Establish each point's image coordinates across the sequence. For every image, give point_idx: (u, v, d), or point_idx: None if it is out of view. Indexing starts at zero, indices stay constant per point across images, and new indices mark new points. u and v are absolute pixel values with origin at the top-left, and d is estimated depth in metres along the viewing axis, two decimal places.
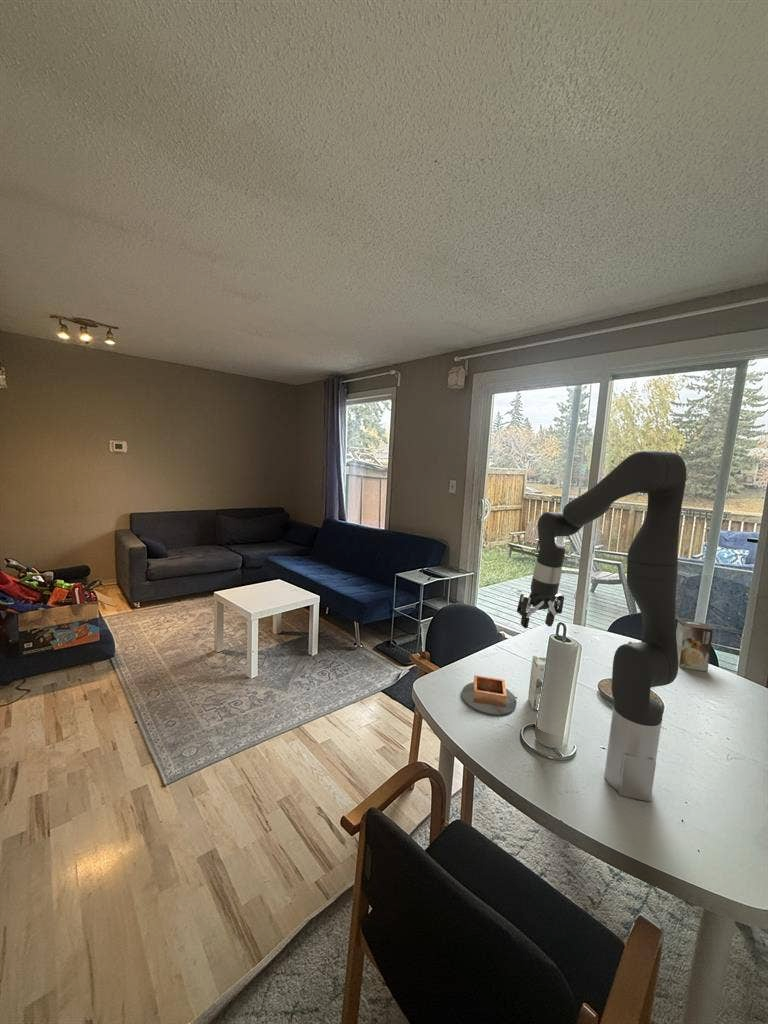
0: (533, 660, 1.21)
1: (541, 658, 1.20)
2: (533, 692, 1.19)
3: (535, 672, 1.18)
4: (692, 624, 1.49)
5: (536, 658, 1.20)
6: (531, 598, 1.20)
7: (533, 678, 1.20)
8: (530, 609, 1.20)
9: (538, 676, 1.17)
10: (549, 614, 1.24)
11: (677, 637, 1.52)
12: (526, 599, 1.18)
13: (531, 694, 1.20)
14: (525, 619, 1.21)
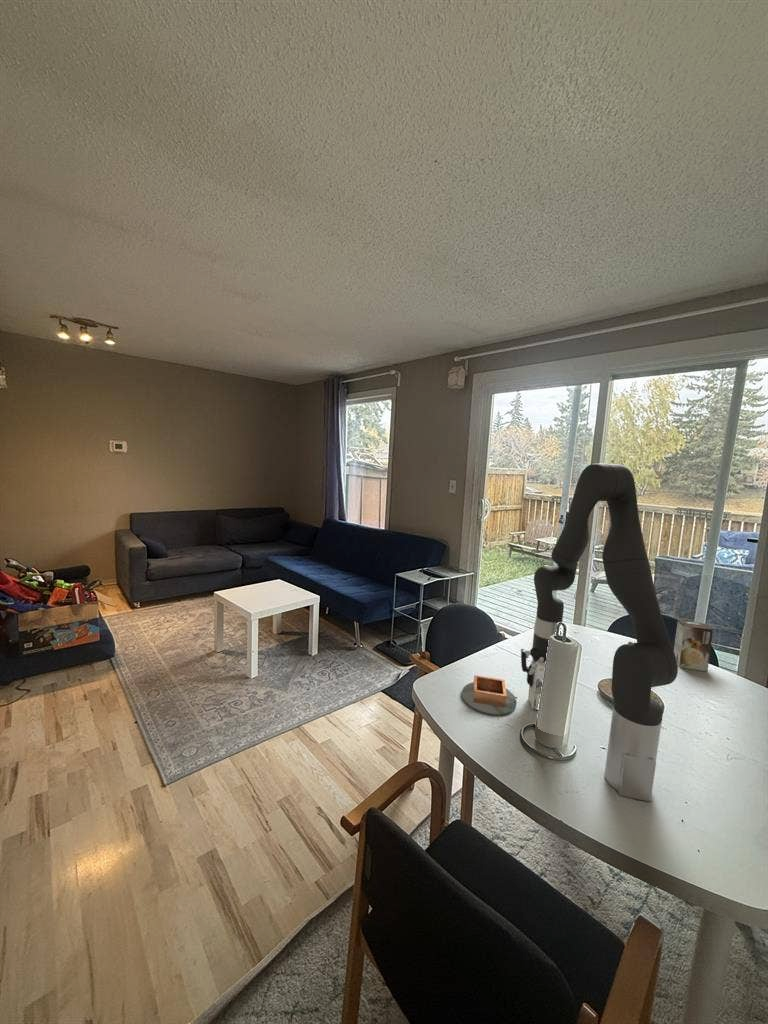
0: (533, 660, 1.21)
1: None
2: (533, 692, 1.19)
3: (535, 672, 1.18)
4: (692, 624, 1.49)
5: None
6: (530, 652, 1.19)
7: (533, 678, 1.20)
8: (532, 665, 1.19)
9: (538, 676, 1.17)
10: None
11: (677, 637, 1.52)
12: (523, 654, 1.19)
13: (531, 694, 1.20)
14: (529, 676, 1.20)
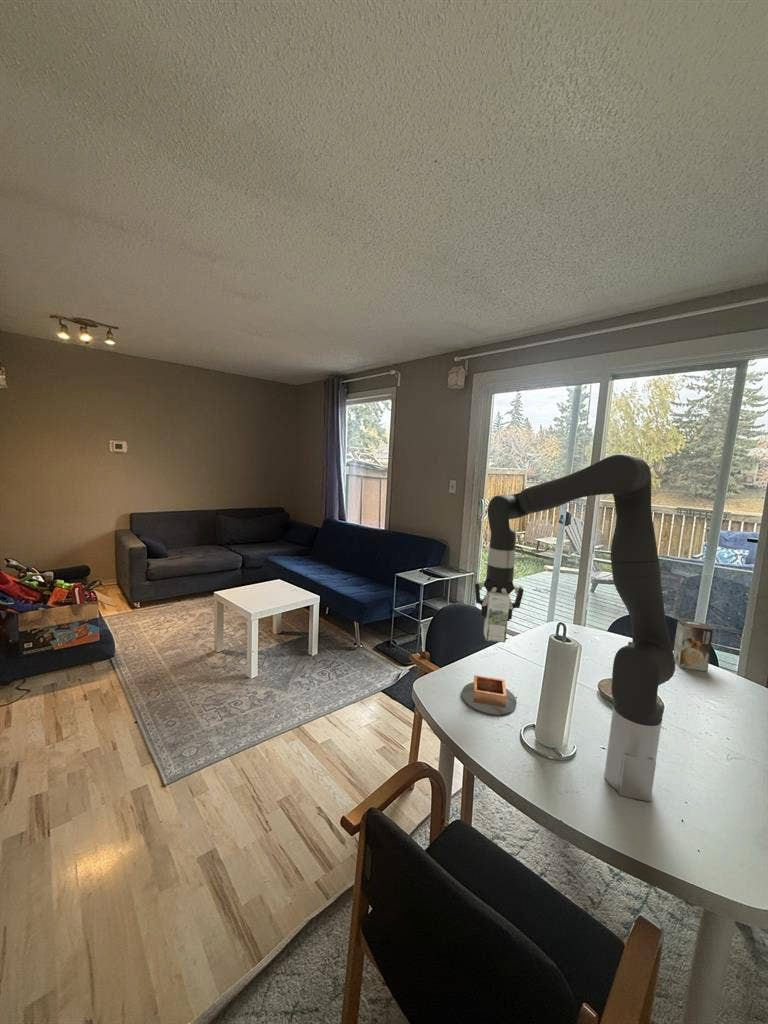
0: None
1: None
2: (486, 624, 1.19)
3: (488, 603, 1.18)
4: (692, 624, 1.49)
5: None
6: (484, 584, 1.19)
7: (486, 610, 1.20)
8: (485, 597, 1.19)
9: (490, 606, 1.17)
10: None
11: (677, 637, 1.52)
12: (476, 585, 1.19)
13: (485, 626, 1.20)
14: (482, 608, 1.19)
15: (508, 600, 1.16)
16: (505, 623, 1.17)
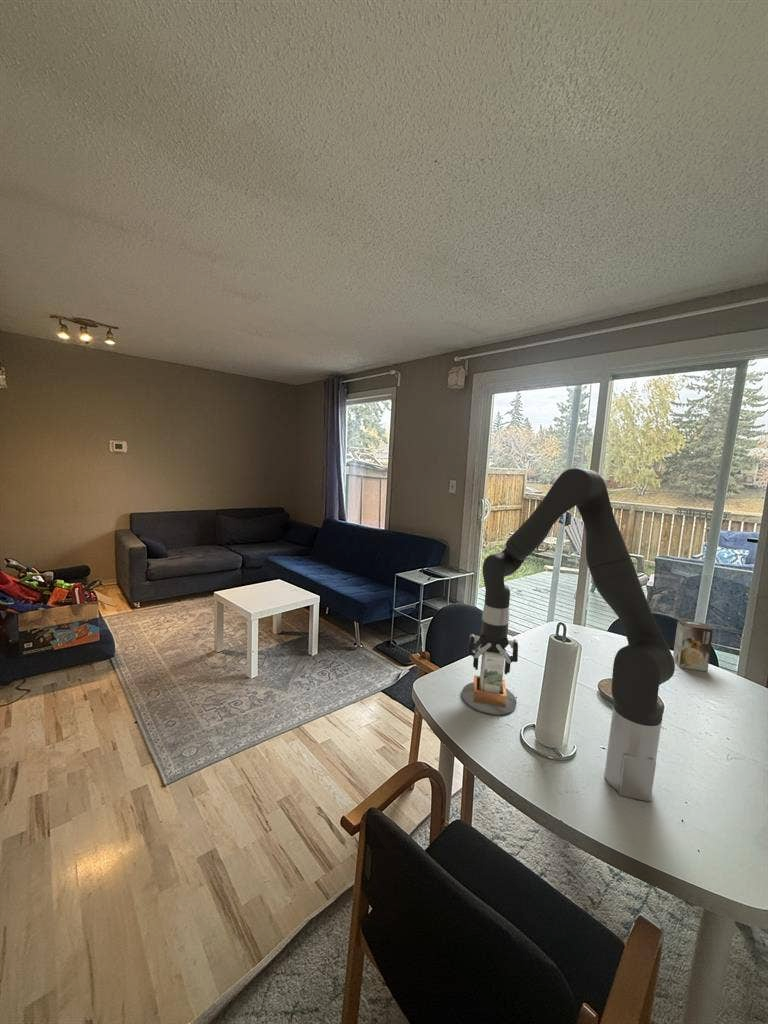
0: None
1: None
2: (481, 682, 1.21)
3: (483, 663, 1.20)
4: (692, 624, 1.49)
5: None
6: (479, 638, 1.21)
7: (482, 668, 1.22)
8: (478, 650, 1.21)
9: (485, 667, 1.19)
10: (505, 661, 1.21)
11: (677, 637, 1.52)
12: (471, 638, 1.21)
13: (480, 684, 1.23)
14: (474, 660, 1.22)
15: (503, 661, 1.18)
16: (500, 683, 1.19)
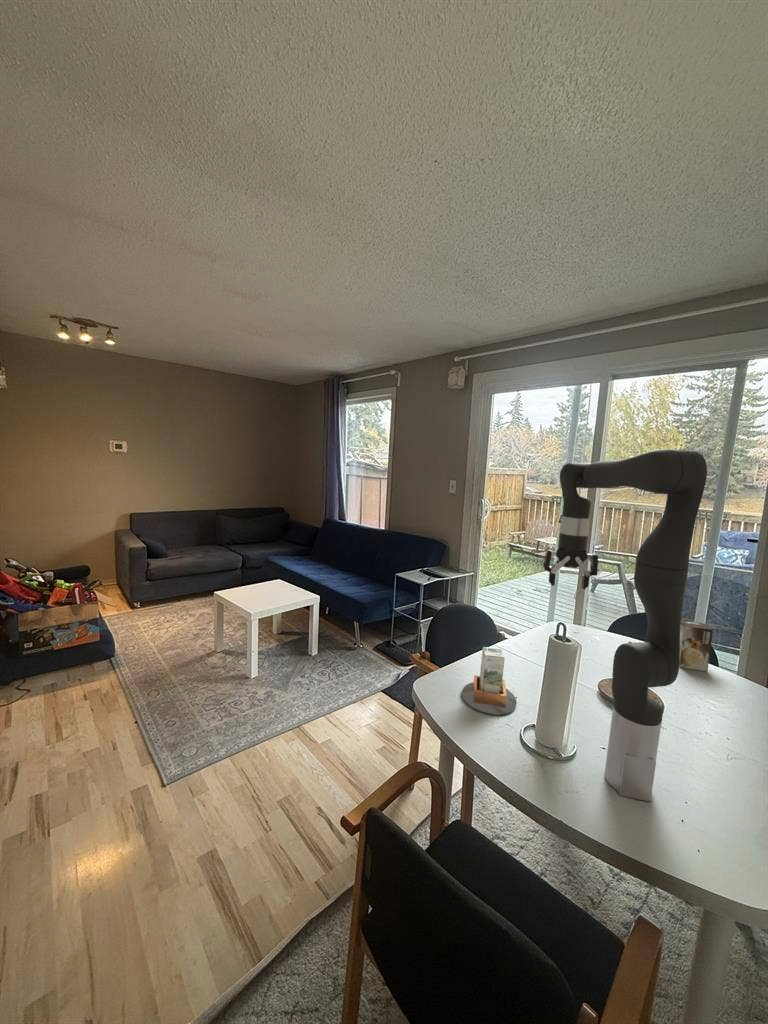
0: (482, 651, 1.23)
1: (490, 649, 1.22)
2: (481, 682, 1.21)
3: (483, 663, 1.20)
4: (692, 624, 1.49)
5: (485, 649, 1.22)
6: (556, 552, 1.18)
7: (482, 668, 1.22)
8: (556, 565, 1.18)
9: (485, 667, 1.19)
10: (583, 576, 1.18)
11: None
12: (548, 552, 1.18)
13: (480, 684, 1.23)
14: (551, 575, 1.19)
15: (503, 661, 1.18)
16: (500, 683, 1.19)
